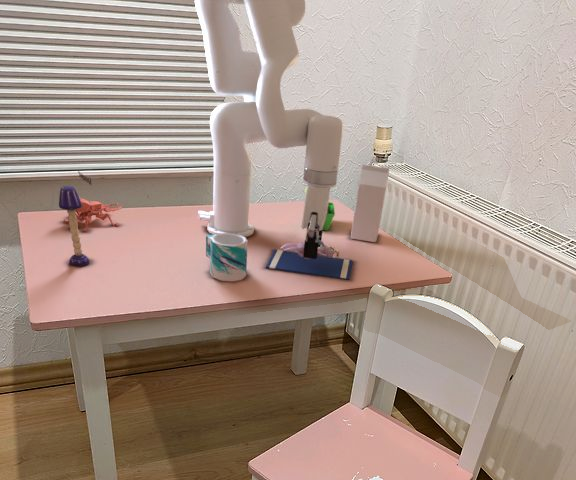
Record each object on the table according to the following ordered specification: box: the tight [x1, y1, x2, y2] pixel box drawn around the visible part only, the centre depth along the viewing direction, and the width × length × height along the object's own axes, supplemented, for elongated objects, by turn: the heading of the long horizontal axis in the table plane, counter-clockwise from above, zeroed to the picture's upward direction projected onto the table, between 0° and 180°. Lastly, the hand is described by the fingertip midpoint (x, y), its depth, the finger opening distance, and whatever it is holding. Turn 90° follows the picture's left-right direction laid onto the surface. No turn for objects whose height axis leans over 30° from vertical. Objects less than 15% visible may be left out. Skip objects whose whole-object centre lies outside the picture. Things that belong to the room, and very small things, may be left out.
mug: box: [205, 233, 249, 282], centre depth 131 cm, size 8×12×8 cm
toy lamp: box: [58, 185, 90, 267], centre depth 126 cm, size 5×5×17 cm
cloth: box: [265, 248, 354, 281], centre depth 141 cm, size 20×12×1 cm, turn 81°
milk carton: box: [350, 164, 390, 243], centre depth 156 cm, size 7×7×19 cm
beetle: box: [62, 170, 123, 233], centre depth 149 cm, size 15×12×13 cm
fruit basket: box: [304, 188, 336, 231], centre depth 163 cm, size 11×9×11 cm
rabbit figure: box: [279, 236, 340, 259], centre depth 138 cm, size 6×6×15 cm
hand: (312, 251), depth 139 cm, fingers closed on rabbit figure, 7 cm apart
